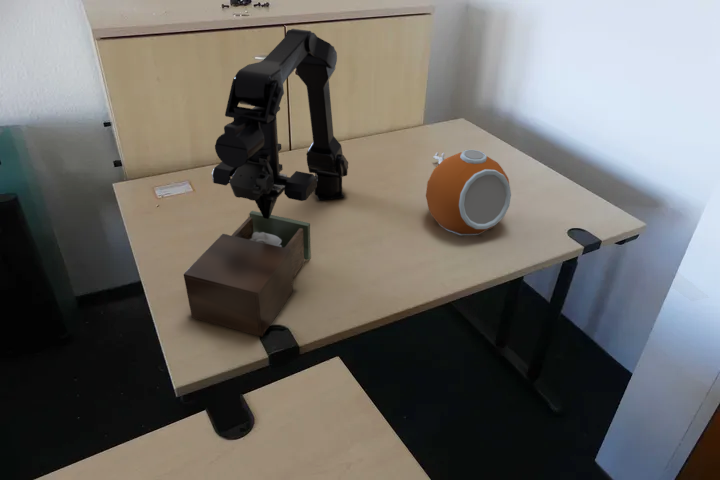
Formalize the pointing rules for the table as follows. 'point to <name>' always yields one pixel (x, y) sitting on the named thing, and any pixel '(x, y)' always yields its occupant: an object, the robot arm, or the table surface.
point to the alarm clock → (468, 193)
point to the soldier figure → (439, 157)
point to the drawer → (280, 235)
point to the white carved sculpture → (266, 238)
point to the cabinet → (240, 284)
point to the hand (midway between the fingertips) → (267, 217)
